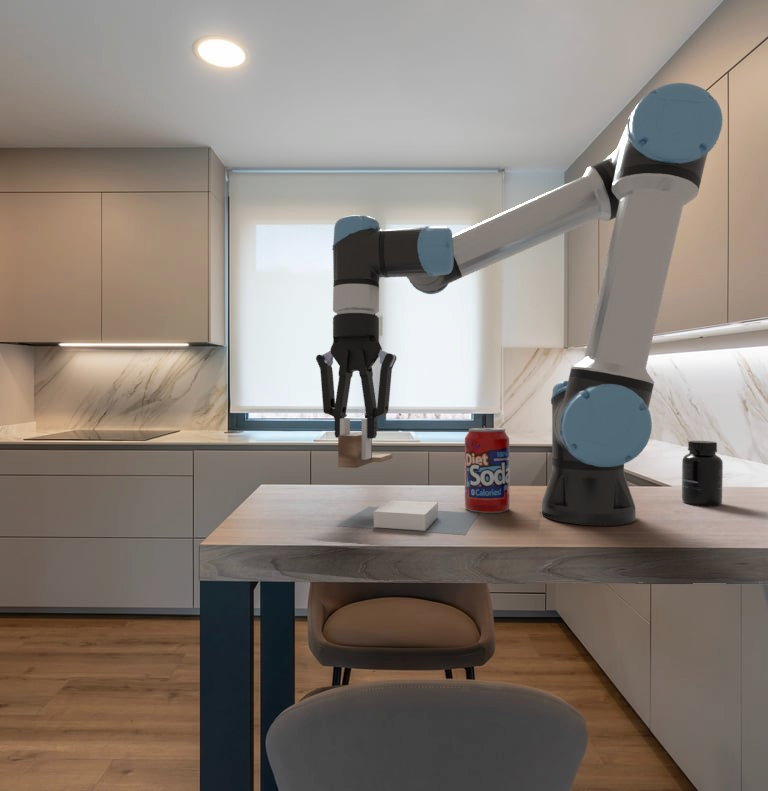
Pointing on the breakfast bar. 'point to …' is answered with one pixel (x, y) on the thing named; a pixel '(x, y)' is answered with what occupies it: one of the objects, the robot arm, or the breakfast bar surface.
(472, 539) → the breakfast bar surface
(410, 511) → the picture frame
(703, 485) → the supplement bottle
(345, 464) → the block with thin plate
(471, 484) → the soda can
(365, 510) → the mat
